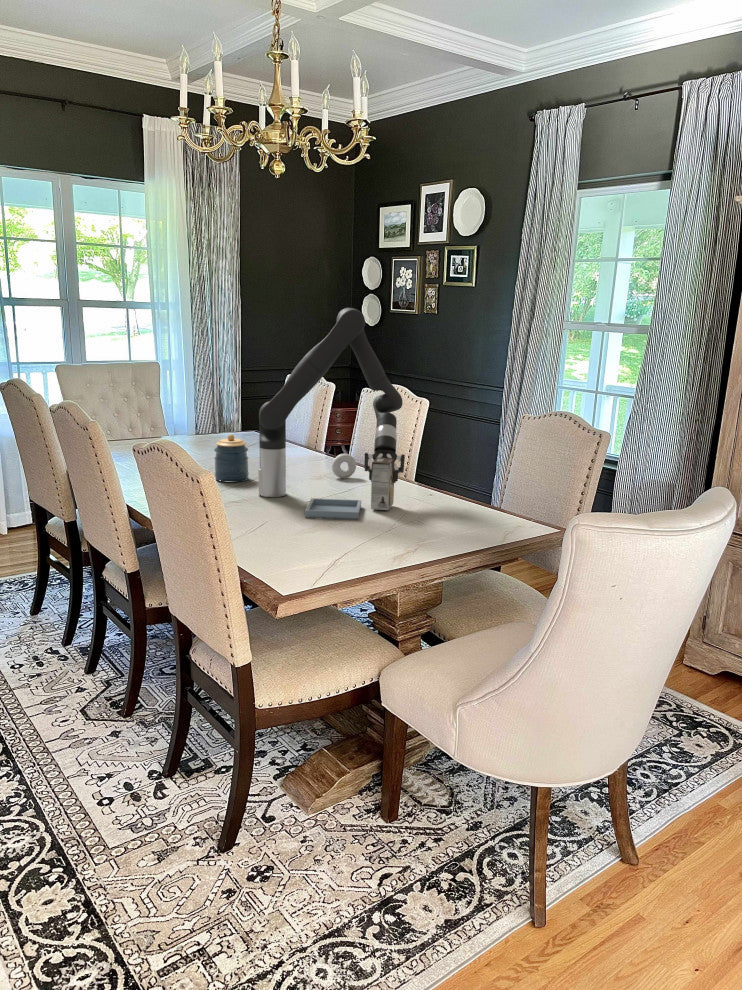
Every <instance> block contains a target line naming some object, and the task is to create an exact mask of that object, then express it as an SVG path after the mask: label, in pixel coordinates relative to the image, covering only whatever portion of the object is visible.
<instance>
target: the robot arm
mask: <svg viewBox="0 0 742 990" xmlns="http://www.w3.org/2000/svg"><path fill="white" fill-rule="evenodd" d="M365 326H366V318H365V316H364V314H363V313H362V312H361V311H360V310H358V309H357V308H354V307H345V308H343V309H341V310H340V311H339V312H338V314H337V316H336V323H335V325H334V326H333V327H332V329H331V330H330V332H328V334H327V335H326V336H325V337H324V338H323V339H321V341H320V342H318V343H317V344H315V346H313V348H312V349H310V350H309V351H308V352H307V353H306V354H305V355H304V356H303V358H302V359H301V360H300V361H299V362H298V363H297V365H295V367H294V368H293V370H292V371H291V373H290V375H289V377H288V378H287V379H286V381H285V383H284V385H283V386H282V387H281V389H280V390H279V391H278V392H277V393H276V394H275V395H274V396H273V397H272V398H271V399H270V400H269V401H266V402H265V403H264V404H262V406H261V407H260V408H259V413H258V419H259V420H258V421H259V423H258V425H259V427H258V428H259V436H258V437H259V442H258V443H259V445H258V447H259V469H258V471H257V473H258V496H259V497H265V498H280V497H283V496H286V494H287V474H286V473H287V466H286V465H287V459H286V458H287V455H286V454H287V449H286V448H287V444H286V443H287V435H286V434H287V431H286V430H287V429H286V427H287V425H286V423H287V419H288V417H289V415H291V413H292V411H293V410H294V408H295V407H296V406H297V404H299V403H300V401H301V400H302V399H303V398H304V397H305V396H307V395H308V393H310V391H311V390H312V389H314V387H315V386H316V385H317V384H318V383H319V381H321V379H322V378H323V377H324V376H325V375H326V373H328V371H329V370H330V368H331V366H333V364H334V363H335V361H336V360H337V359H338V357H339V356H340V354H341V353H342V352H343V351H344V350H345V349H346V348H347V347H348V345H349V346H350V348H351V350H352V351H353V354H354V355H355V357H356V360H357V362H358V364H359V367H360V369H361V371H362V374H363V376H364V379H365V380H366V383H367V384H368V386H369V389H370V390H371V391H373V392H377V391H378V392H379V391H380V392H382V394H379V395H377V396H376V397H374V399H373V402H372V407H373V411H374V414H375V417H376V426H375V427H376V429H375V434H374V447H373V449H374V450H373V453H372V454H370V453H369V452H365V453H364V464H363V465H364V472H369V473H368V474H369V476H368V480H369V481H370V482H372V464H371V465H369V462H370V461H371V459H373V461H374V460H375V459H376V458H395V463H394V469H395V470H394V484H396V482H398V481H399V473H404V470H405V459H406V455H405V454H404V453H403V454H401V455H399V454H398V455H397V440H398V439H397V435H398V434H397V422H398V421H397V417H396V416H395V414H394V413H393V412H395V411H399V410H400V409H402V408H403V404H404V403H403V398H402V396H401V393H400V392H399V391H398V390H397V389H396V387H394V385H393V384H392V383H391V381H390V380H389V379H388V377H387V375H386V373H385V370H384V368H383V366H382V364H381V362H380V360H379V358H378V357H377V355H376V352H375V351H374V350H373V347H372V346H371V345H370V342H369V339H368V337H367V334H366V331H365ZM397 460H398V462H399V463H400V466H397V463H396V461H397ZM260 495H261V496H260Z"/></svg>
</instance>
